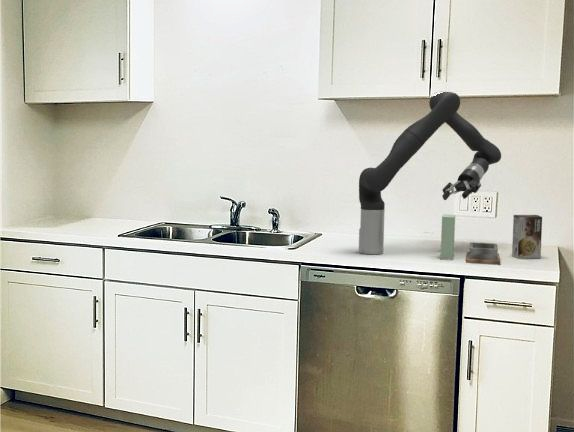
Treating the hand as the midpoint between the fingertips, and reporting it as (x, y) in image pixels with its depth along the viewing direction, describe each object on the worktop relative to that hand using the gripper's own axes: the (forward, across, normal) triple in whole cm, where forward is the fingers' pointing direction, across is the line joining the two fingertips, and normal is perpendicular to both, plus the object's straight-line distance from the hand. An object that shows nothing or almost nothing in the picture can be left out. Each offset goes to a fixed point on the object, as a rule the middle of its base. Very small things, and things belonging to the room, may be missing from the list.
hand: (453, 197), depth 260 cm
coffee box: (-4, +18, +31) cm, 36 cm away
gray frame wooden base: (+11, +10, +21) cm, 26 cm away
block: (+16, -1, +17) cm, 23 cm away
